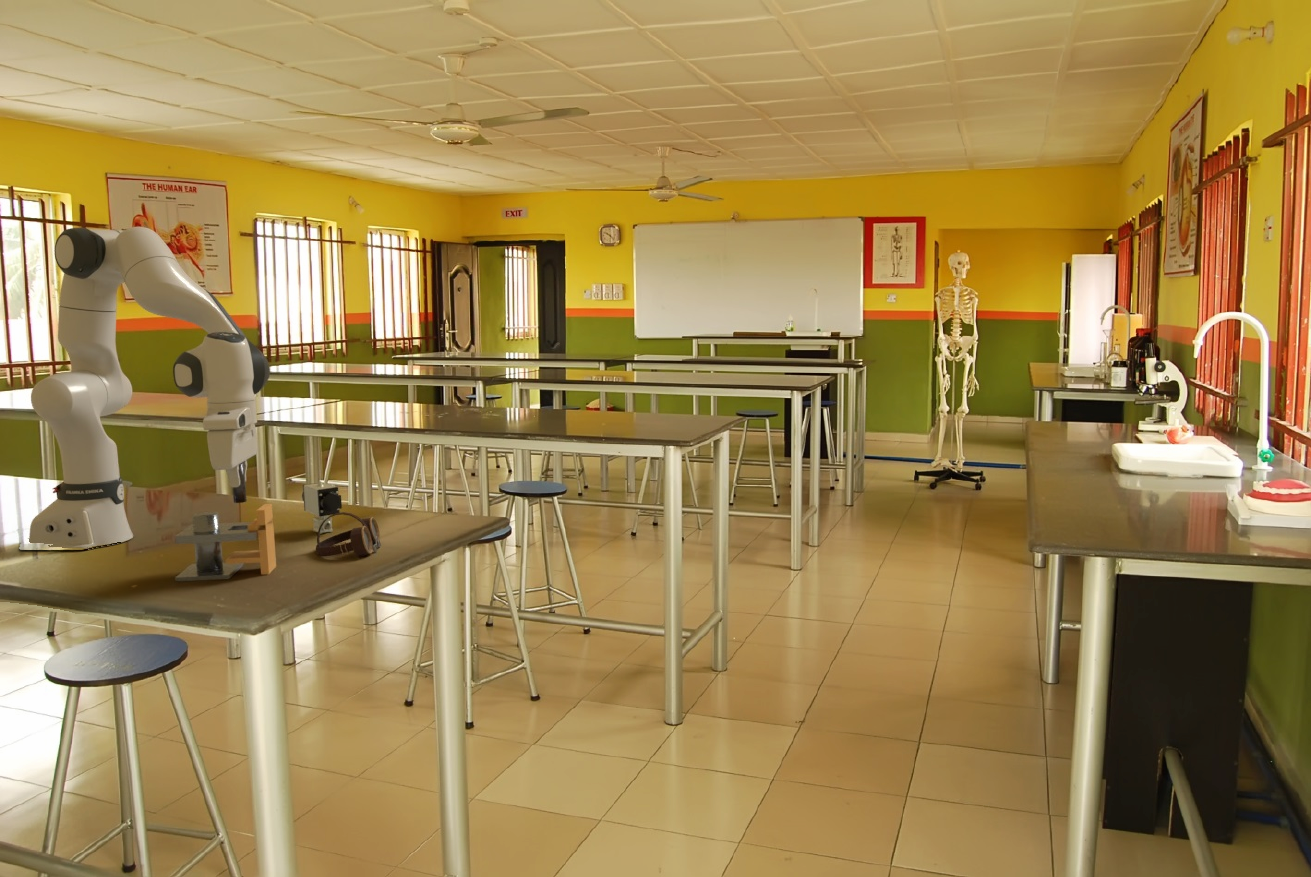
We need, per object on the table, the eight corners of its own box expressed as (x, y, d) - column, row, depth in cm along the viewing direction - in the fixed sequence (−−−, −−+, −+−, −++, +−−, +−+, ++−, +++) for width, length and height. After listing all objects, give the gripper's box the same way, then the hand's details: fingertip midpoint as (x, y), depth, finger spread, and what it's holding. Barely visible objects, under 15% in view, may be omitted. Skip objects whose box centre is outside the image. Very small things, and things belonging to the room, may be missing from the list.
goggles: (373, 558, 209) (360, 512, 207) (312, 574, 208) (298, 528, 207) (387, 540, 224) (374, 498, 223) (330, 555, 224) (316, 513, 222)
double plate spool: (175, 581, 194) (170, 521, 193) (192, 567, 204) (187, 510, 203) (258, 577, 196) (254, 517, 195) (271, 563, 206) (266, 506, 205)
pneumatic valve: (324, 537, 228) (320, 486, 227) (303, 529, 237) (299, 479, 235) (347, 533, 232) (343, 482, 230) (325, 525, 241) (322, 476, 239)
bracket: (226, 576, 198) (221, 511, 196) (235, 568, 203) (230, 505, 202) (269, 574, 199) (264, 510, 197) (276, 566, 204) (271, 503, 203)
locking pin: (232, 503, 198) (228, 463, 196) (235, 500, 200) (232, 461, 199) (244, 502, 198) (241, 462, 197) (248, 500, 200) (244, 460, 199)
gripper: (230, 410, 206) (236, 476, 208) (199, 422, 186) (205, 495, 188) (262, 409, 207) (267, 475, 209) (235, 421, 187) (241, 493, 189)
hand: (238, 484), depth 198 cm, fingers closed on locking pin, 2 cm apart
